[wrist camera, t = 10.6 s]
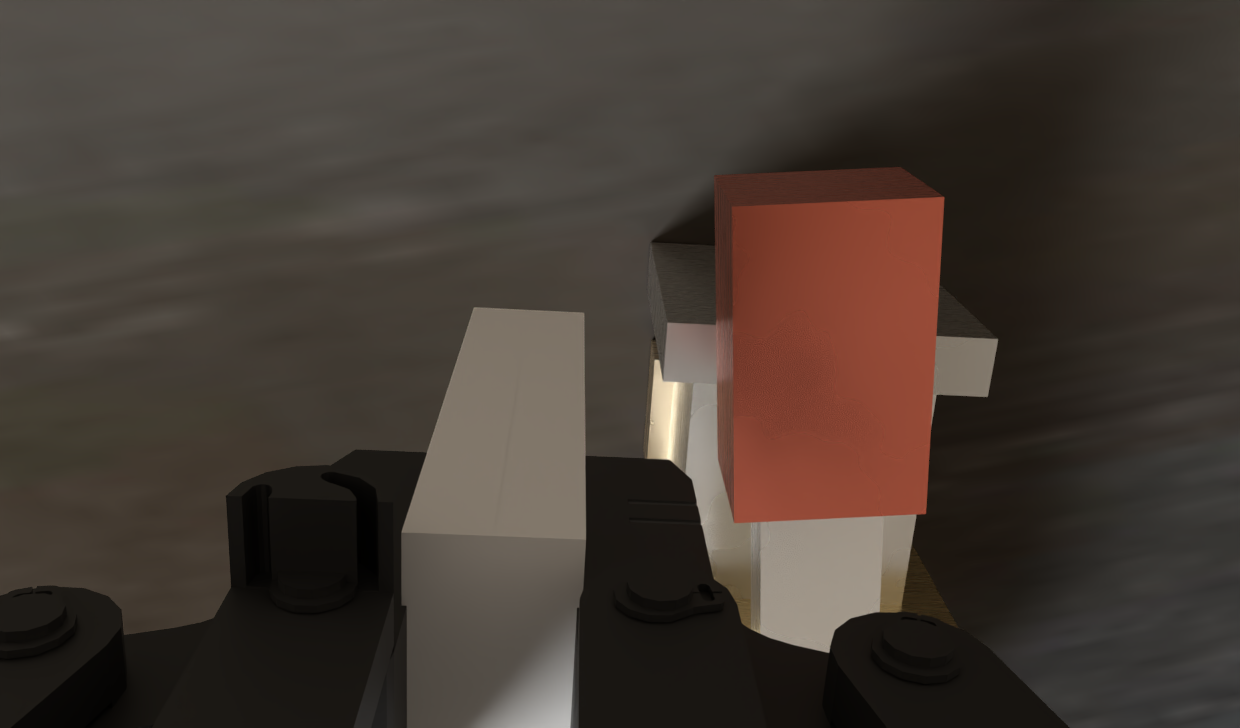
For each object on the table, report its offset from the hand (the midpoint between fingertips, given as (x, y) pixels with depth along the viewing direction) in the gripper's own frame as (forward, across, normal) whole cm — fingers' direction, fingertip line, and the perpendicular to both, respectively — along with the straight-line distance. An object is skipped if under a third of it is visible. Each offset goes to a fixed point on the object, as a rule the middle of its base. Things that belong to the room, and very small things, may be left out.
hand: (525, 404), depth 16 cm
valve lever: (+4, +5, -5) cm, 8 cm away
